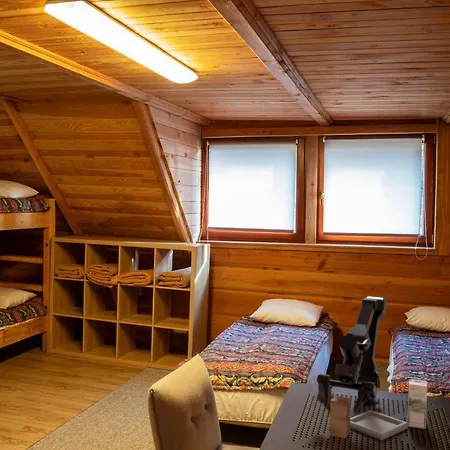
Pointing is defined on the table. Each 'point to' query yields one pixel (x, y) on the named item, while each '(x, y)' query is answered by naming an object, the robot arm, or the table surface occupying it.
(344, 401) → the walnut block
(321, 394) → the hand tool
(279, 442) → the table surface
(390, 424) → the tray
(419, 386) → the syrup box
